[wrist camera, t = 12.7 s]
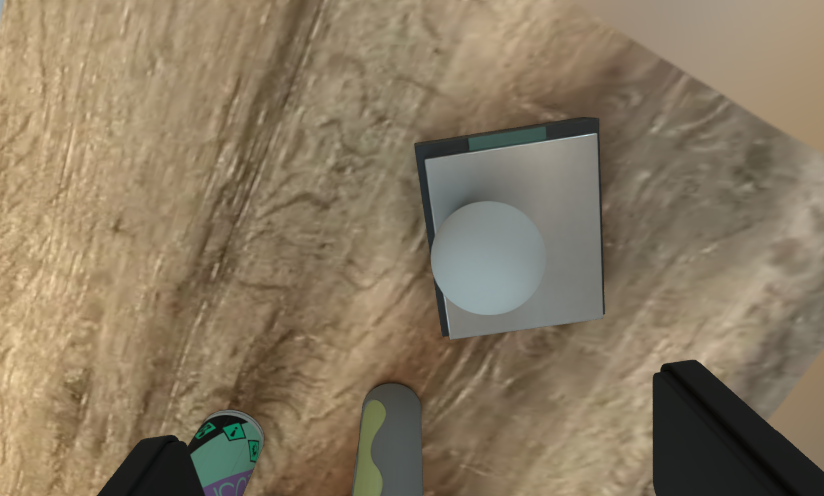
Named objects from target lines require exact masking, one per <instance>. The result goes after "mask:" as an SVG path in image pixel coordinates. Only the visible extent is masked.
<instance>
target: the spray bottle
mask: <svg viewBox="0 0 824 496" xmlns="http://www.w3.org/2000/svg"><path fill="white" fill-rule="evenodd" d="M352 496H423V470H422V422H421V404H420V401H419V399H418V397H417V396H416V394H415V393H414V392H413V391H412V390H410V389H409V388H407V387H405V386H403V385H400V384H395V383H390V384H383V385H380V386H378V387H376V388H374V389H373V390H372V391H371V392H370V393H369V394H368V395H367V396H366V398H365V400H364V402H363V406H362V414H361V422H360V433H359V443H358V449H357V454H356V462H355V471H354V479H353V487H352Z"/></svg>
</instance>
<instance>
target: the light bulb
mask: <svg viewBox="0 0 824 496" xmlns="http://www.w3.org/2000/svg"><path fill="white" fill-rule="evenodd" d="M431 267H432V271H433V275H434V278H435V280H436V283H437V285H438V286H439V288H440V289H441V291H442V292H443V293H444V295H445V296H446V297H447V298H448V299H449V300H450V301H451V302H453V303H454V304H455V305H457V306H458V307H460V308H462V309H464V310H466V311H469V312H471V313H475V314H480V315H497V314H502V313H506V312H509V311H512V310H514V309H516V308H517V307H519V306H521V305H522V304H524V303H525V302H526V301H527V300H528V299H529V298H530V297H531V296H532V295H533V294H534V293H535V291H536V290H537V288H538V287H539V285H540V283H541V281H542V278H543V275H544V272H545V267H546V250H545V245H544V241H543V238H542V236H541V234H540V232H539V230H538V228H537V227H536V225H535V224H534V223H533V222H532V220H531V219H530V218H529V217H528V216H527V215H525V214H524V213H523V212H521V211H520V210H518V209H517V208H515V207H512V206H510V205H508V204H505V203H501V202H494V201H482V202H476V203H471V204H469V205H466V206H464V207H462V208H460V209H458V210H457V211H455V212H454V213H452V214H451V215H450V216H449V217H448V218H447V219H446V220H445V221H444V222H443V223H442V225H441V226H440V228H439V229H438V231H437V233H436V236H435V238H434V241H433V245H432V249H431Z"/></svg>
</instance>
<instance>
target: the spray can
mask: <svg viewBox="0 0 824 496" xmlns="http://www.w3.org/2000/svg"><path fill="white" fill-rule="evenodd" d="M263 444H264V434H263V430H262V429H261V427H260V425H259V424H258V423H257V421H256V420H254V419H253V418H252V417H251V416H249V415H247V414H245V413H243V412H240V411H236V410H222V411H218V412H215V413H214V414H212V415H210V416H209V417H208V418H207V419H206V420H205V421H204V422H203V424H202V425H201V426H200V428H199V430H198V431H197V433H196V434H195V436H194V437H193V439H192V440H191V442H190V444H189V445H188V450H189V452H190V455H191V458H192V460H193V463H194V466H195V469H196V471H197V474H198V477H199V479H200V482H201V485H202V488H203V490H204V493H205V496H243V493H244V491H245V488H246V486H247V484H248V481H249V479H250V477H251V474H252V472H253V470H254V467H255V465H256V462H257V460H258V458H259V455H260V453H261V451H262V448H263Z"/></svg>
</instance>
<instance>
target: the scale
mask: <svg viewBox="0 0 824 496" xmlns="http://www.w3.org/2000/svg"><path fill="white" fill-rule="evenodd" d="M414 146H415V153H416V160H417V167H418V174H419V181H420V187H421V194H422V201H423V208H424V215H425V222H426V229H427V235H428V242H429V249H430V256H431V249H432V245H433V241H434V238H435V236H436V233H437V231H438V229H439V228H440V226H441V225H442V223H443V222H444V221H445V220H446V219H447V218H448V217H449V216H450V215H451V214H452V213H454V212H455V211H457V210H458V209H460V208H462V207H464V206H466V205H469V204H471V203H476V202H482V201H494V202H501V203H505V204H508V205H510V206H512V207H515V208H517V209H518V210H520V211H521V212H523V213H524V214H525V215H527V216H528V217H529V218H530V219H531V220H532V222H533V223H534V224H535V225H536V227H537V228H538V230H539V232H540V234H541V236H542V238H543V241H544V245H545V250H546V267H545V272H544V275H543V278H542V281H541V283H540V285H539V287H538V288H537V290H536V291H535V293H534V294H533V295H532V296H531V297H530V298H529V299H528V300H527V301H526V302H525V303H524V304H522V305H521V306H519V307H517V308H516V309H514V310H512V311H509V312H506V313H502V314H497V315H480V314H475V313H471V312H469V311H466V310H464V309H462V308H460V307H458V306H457V305H455V304H454V303H453V302H451V301H450V300H449V299H448V298H447V297H446V296H445V295H444V293H443V292H442V291H441V289H440V288H439V286H438V285H437V283H436V280H435V278H434V283H435V290H436V297H437V304H438V311H439V318H440V324H441V331H442V336H443V337H444V336H449V338H450V340H452V339H460V338H467V337H474V336H481V335H489V334H496V333H503V332H510V331H517V330H525V329H532V328H539V327H546V326H554V325H561V324H568V323H575V322H583V321H590V320H597V319H603V314H605V304H604V271H603V239H602V206H601V174H600V141H599V118H590V117H582V118H575V119H569V120H562V121H556V122H549V123H543V124H536V125H530V126H523V127H517V128H510V129H504V130H498V131H491V132H485V133H478V134H472V135H465V136H459V137H452V138H446V139H439V140H433V141H426V142H420V143H415V144H414ZM433 276H434V275H433Z"/></svg>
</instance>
